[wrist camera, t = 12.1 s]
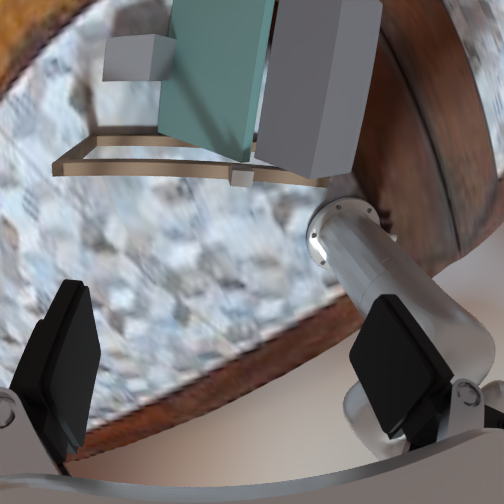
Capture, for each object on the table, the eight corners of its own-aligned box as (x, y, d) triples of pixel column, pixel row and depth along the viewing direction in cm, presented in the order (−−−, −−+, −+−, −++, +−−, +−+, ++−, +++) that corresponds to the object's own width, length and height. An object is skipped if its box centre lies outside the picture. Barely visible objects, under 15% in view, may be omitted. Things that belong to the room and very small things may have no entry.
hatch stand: (314, 2, 30) (373, -22, 18) (288, 154, 41) (333, 194, 29) (106, -16, 24) (68, -54, 12) (90, 144, 35) (46, 183, 23)
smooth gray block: (154, 33, 24) (106, 38, 25) (149, 80, 27) (102, 81, 27) (176, 39, 28) (131, 41, 29) (171, 80, 31) (127, 80, 32)
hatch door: (383, -1, 19) (339, -38, 14) (349, 177, 28) (300, 187, 23) (226, 4, 31) (175, -8, 26) (208, 128, 40) (157, 132, 35)
